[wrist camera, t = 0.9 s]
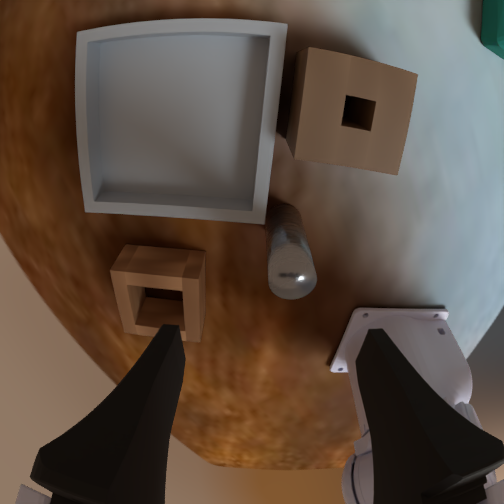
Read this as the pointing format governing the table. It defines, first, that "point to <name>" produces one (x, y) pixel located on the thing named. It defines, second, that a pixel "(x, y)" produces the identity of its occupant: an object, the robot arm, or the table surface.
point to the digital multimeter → (493, 26)
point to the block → (349, 111)
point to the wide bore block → (164, 277)
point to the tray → (179, 117)
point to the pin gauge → (288, 254)
